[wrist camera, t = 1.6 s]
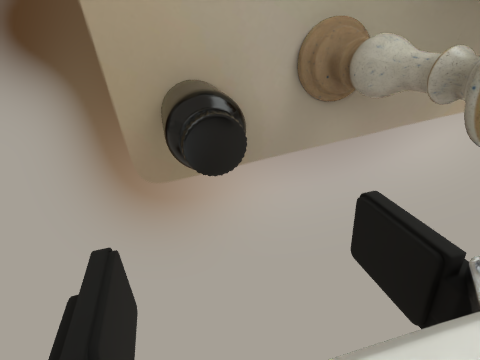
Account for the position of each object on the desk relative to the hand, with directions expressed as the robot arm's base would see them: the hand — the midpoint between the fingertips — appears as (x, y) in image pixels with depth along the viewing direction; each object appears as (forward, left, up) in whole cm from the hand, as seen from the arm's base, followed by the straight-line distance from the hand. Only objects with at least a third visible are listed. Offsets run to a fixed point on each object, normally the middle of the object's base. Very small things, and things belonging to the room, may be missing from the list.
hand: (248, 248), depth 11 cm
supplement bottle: (+1, 0, -23) cm, 23 cm away
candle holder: (+17, +4, -23) cm, 29 cm away
